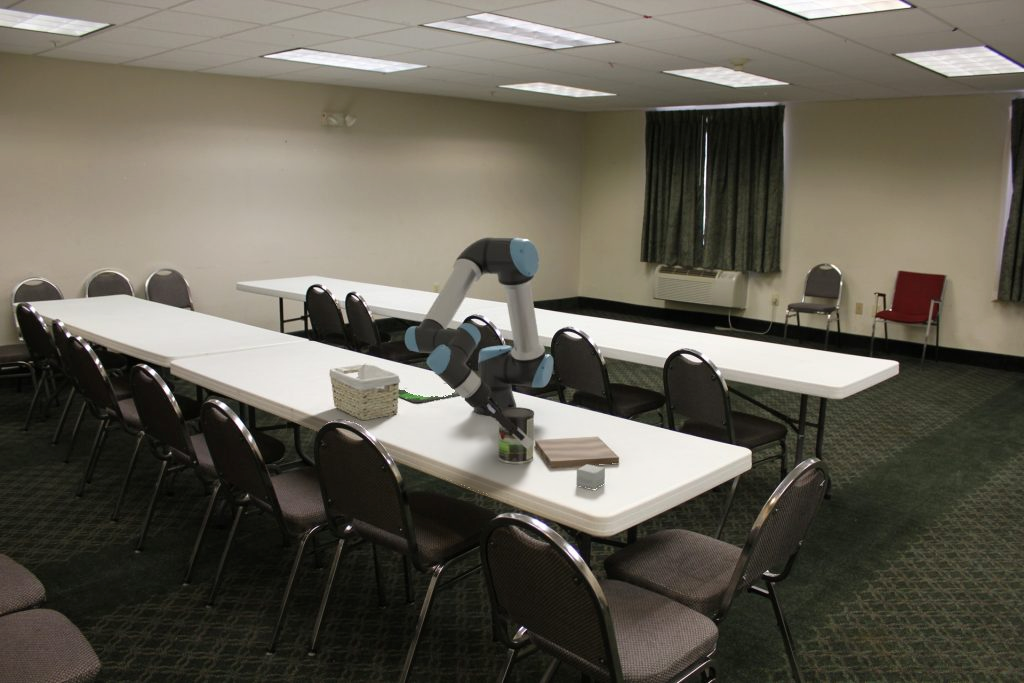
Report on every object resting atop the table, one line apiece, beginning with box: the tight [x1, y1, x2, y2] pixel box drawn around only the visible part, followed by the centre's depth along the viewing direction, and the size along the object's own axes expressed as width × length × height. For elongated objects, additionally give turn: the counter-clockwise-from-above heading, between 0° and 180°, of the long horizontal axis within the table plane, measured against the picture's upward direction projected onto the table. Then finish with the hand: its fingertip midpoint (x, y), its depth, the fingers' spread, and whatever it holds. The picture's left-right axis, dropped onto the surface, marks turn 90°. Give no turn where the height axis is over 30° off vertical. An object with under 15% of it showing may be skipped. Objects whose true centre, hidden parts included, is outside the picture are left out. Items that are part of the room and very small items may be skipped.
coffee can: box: [497, 406, 535, 465], centre depth 229 cm, size 10×10×14 cm
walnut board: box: [534, 436, 620, 469], centre depth 233 cm, size 20×20×2 cm
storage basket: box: [329, 363, 401, 421], centre depth 278 cm, size 24×16×15 cm
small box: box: [575, 464, 606, 490], centre depth 208 cm, size 6×6×5 cm
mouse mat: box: [398, 389, 461, 404], centre depth 306 cm, size 27×22×1 cm
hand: (526, 439), depth 229 cm, fingers open, 10 cm apart
